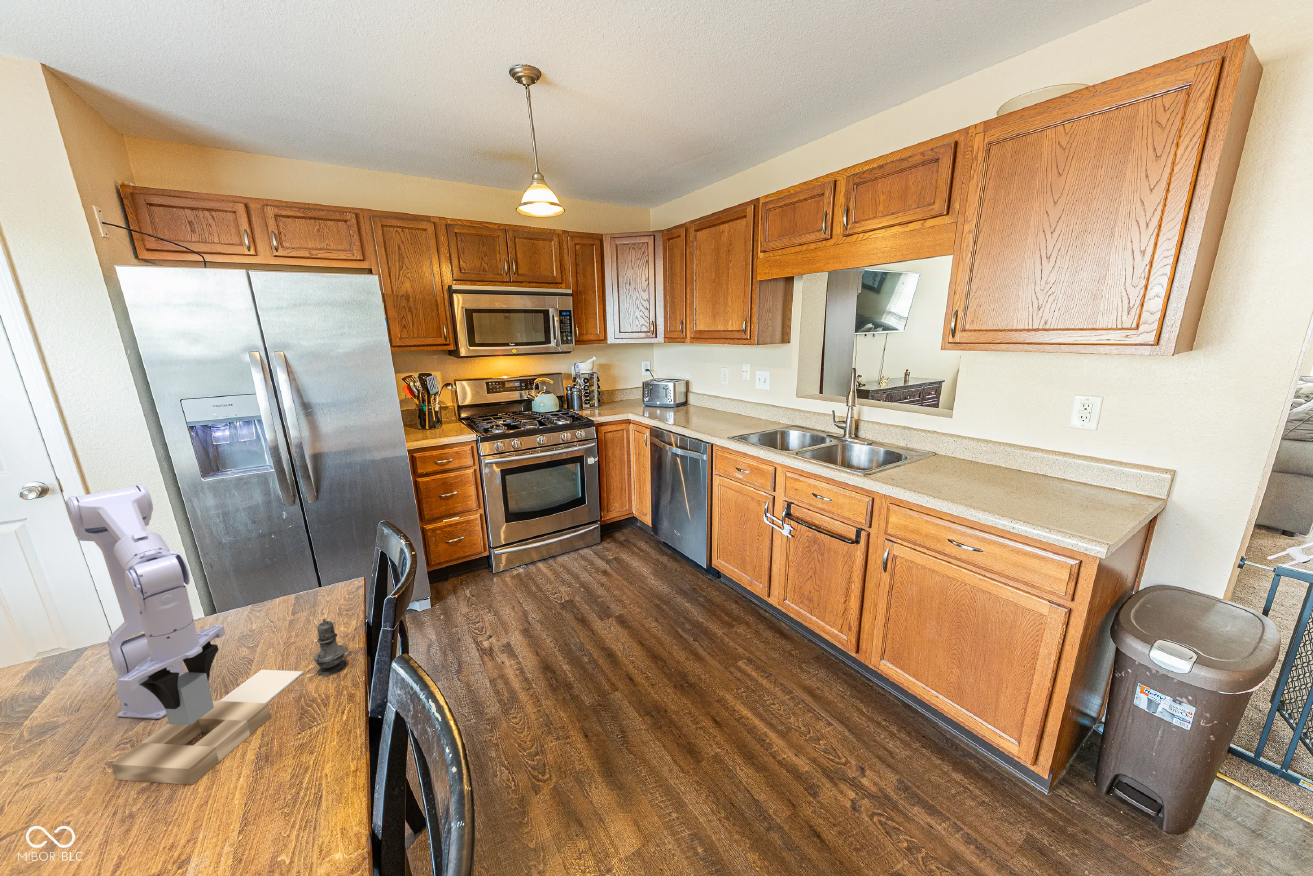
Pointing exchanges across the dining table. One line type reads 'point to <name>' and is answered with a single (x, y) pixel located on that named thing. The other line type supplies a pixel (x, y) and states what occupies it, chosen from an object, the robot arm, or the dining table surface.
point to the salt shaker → (329, 650)
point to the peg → (191, 699)
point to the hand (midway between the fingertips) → (187, 697)
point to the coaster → (263, 686)
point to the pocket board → (183, 763)
